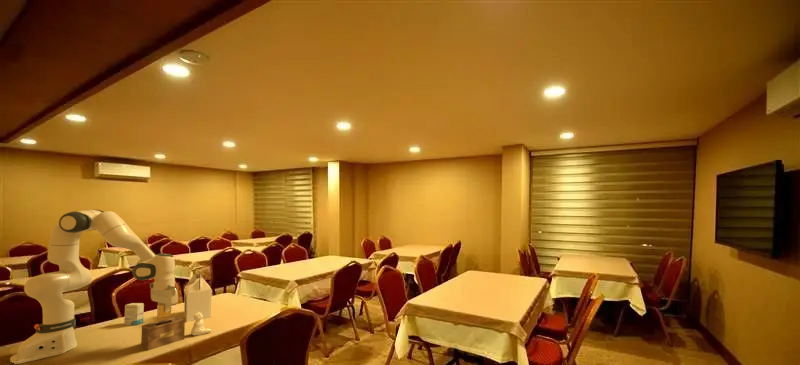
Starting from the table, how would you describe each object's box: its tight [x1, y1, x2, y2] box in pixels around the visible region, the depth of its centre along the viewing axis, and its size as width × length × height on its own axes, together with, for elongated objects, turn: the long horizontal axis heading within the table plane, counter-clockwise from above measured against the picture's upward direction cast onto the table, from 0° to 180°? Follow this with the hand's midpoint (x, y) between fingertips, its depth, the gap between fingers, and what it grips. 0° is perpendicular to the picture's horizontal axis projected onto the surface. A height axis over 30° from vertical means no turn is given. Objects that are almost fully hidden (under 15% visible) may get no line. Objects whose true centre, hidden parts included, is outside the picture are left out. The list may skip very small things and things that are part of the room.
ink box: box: [123, 302, 145, 326], centre depth 199 cm, size 9×5×12 cm, turn 84°
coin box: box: [140, 315, 186, 351], centre depth 171 cm, size 16×10×10 cm, turn 144°
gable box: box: [183, 269, 213, 323], centre depth 214 cm, size 22×13×28 cm, turn 37°
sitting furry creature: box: [190, 312, 212, 337], centre depth 182 cm, size 10×9×12 cm
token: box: [156, 304, 172, 318], centre depth 172 cm, size 6×3×6 cm, turn 136°
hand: (164, 311), depth 172 cm, fingers closed on token, 3 cm apart
